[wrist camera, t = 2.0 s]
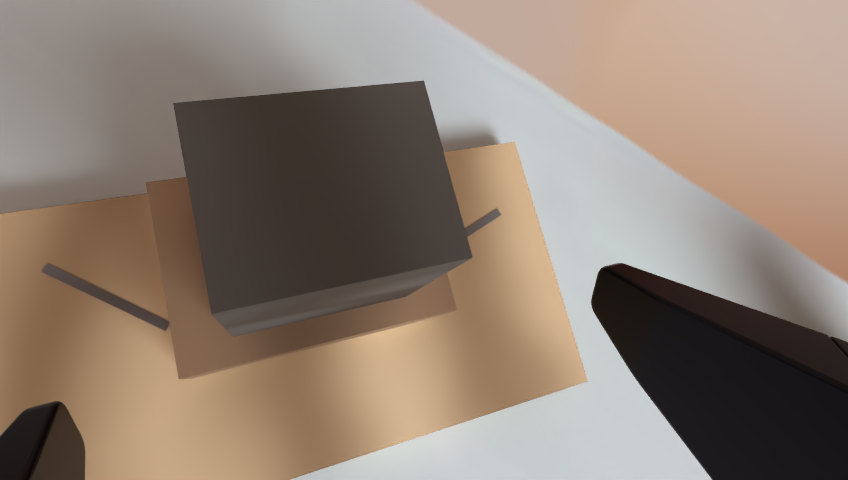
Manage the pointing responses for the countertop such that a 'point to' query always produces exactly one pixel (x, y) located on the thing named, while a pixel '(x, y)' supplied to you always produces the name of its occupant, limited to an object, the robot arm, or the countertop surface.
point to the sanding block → (304, 223)
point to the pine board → (280, 377)
